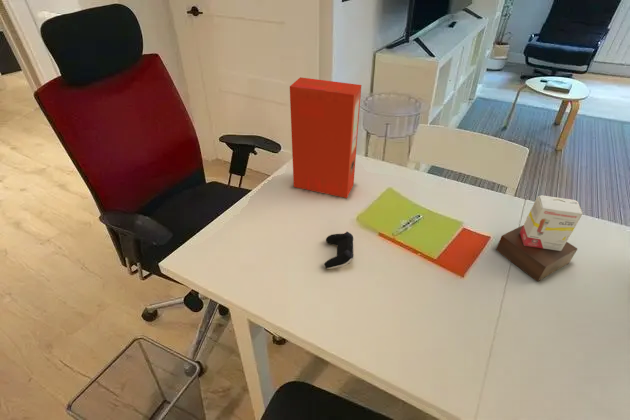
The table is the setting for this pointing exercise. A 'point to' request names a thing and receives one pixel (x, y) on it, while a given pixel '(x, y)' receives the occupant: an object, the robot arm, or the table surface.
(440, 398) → the table surface
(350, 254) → the gaming controller
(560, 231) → the ink box
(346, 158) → the file binder
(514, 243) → the walnut block
